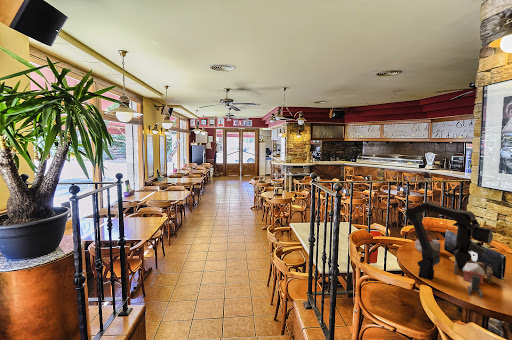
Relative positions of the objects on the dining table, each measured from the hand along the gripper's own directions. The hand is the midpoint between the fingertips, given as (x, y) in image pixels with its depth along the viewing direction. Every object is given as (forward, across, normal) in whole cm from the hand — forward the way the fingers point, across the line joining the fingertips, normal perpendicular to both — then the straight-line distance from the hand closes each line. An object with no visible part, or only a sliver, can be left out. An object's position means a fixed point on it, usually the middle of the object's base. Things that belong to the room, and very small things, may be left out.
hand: (460, 266), depth 132 cm
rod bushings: (+13, +2, -7) cm, 15 cm away
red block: (+13, +10, -7) cm, 18 cm away
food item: (+13, +46, +16) cm, 50 cm away
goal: (+13, +24, -7) cm, 29 cm away
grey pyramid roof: (+13, +21, -7) cm, 26 cm away
